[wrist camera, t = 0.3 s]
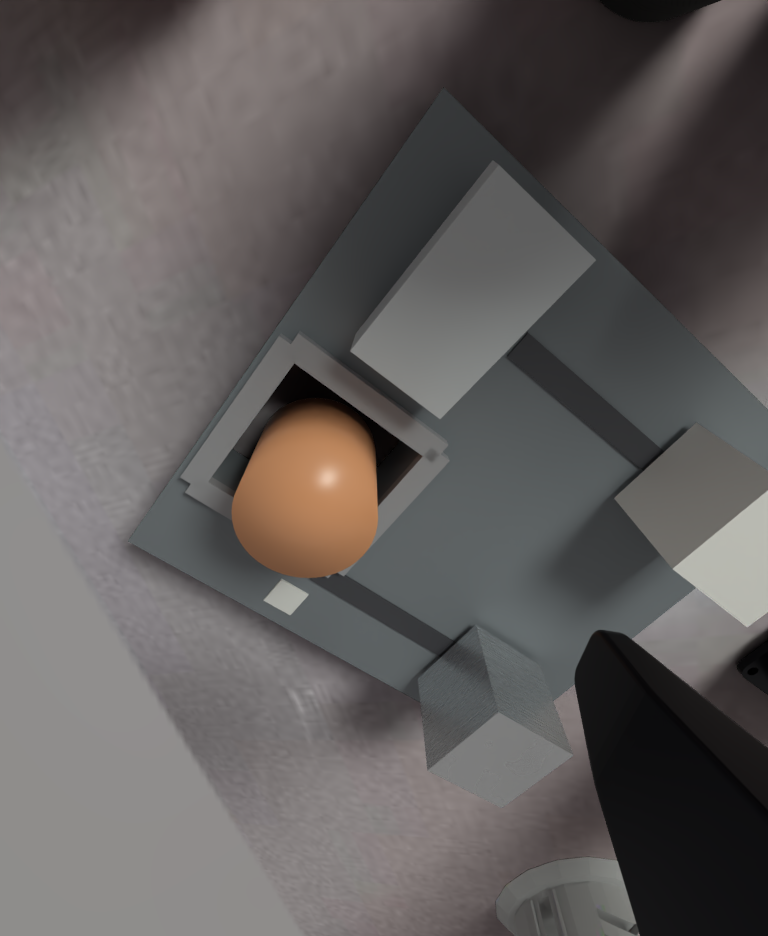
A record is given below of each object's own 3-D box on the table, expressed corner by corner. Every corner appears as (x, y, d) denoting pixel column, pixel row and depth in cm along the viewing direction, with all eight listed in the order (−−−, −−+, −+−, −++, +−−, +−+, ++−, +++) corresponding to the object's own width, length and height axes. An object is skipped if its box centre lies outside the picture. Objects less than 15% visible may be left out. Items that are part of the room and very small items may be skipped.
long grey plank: (582, 247, 14) (596, 260, 13) (439, 397, 17) (440, 419, 16) (493, 159, 13) (498, 165, 12) (356, 333, 16) (350, 351, 15)
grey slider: (539, 665, 22) (573, 755, 19) (481, 714, 23) (501, 808, 20) (475, 625, 21) (498, 712, 18) (417, 678, 22) (427, 770, 19)
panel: (785, 447, 21) (851, 486, 18) (486, 699, 27) (501, 759, 24) (432, 102, 16) (447, 81, 13) (152, 505, 22) (119, 552, 19)
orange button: (399, 443, 19) (407, 507, 15) (331, 521, 20) (322, 599, 16) (303, 373, 18) (285, 423, 14) (237, 462, 19) (204, 530, 15)
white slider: (760, 481, 19) (853, 548, 15) (678, 549, 20) (747, 627, 16) (696, 422, 18) (781, 479, 14) (614, 498, 19) (671, 568, 15)
